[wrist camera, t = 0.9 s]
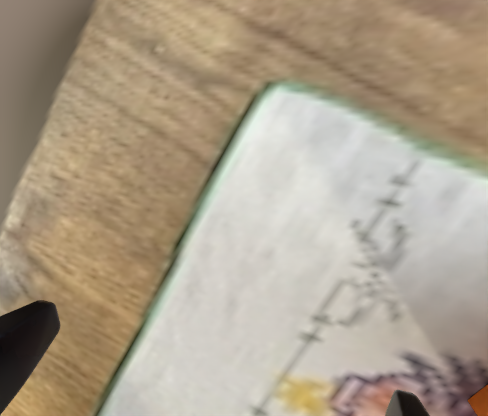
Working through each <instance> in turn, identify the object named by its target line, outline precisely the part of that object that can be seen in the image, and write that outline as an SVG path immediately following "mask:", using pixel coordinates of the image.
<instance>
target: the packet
mask: <svg viewBox="0 0 488 416" xmlns="http://www.w3.org/2000/svg"><path fill="white" fill-rule="evenodd" d="M468 402H469V404H470V405H471V407H472V408H473V410H474V411H475V413H476V414H477V416H488V384H487V385H486V386H485V387H484V388H482V389H481V390H480V391H479V392H477V393H476V394H475V395H474V396H472V397H471V398H470V399H469V400H468Z"/></svg>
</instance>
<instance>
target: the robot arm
mask: <svg viewBox="0 0 488 416" xmlns="http://www.w3.org/2000/svg"><path fill="white" fill-rule="evenodd" d="M59 329H60V321H59V317H58V313H57V309H56V306H55V304H54V303H52V302H48V301H44V300H39V301H36V302H33V303H31V304H28V305H26V306H24V307H21V308H19V309H17V310H14V311H12V312H10V313H7V314H5V315H2V316H0V415H1V413H2V412H3V411H4V410H5V408H6V407H7V406H8V405H9V403H10V402H11V401H12V399H13V398H14V397H15V396H16V394H17V393H18V392H19V390H20V389H21V388H22V386H23V385H24V384H25V382H26V381H27V379H28V378H29V376H30V375H31V373H32V372H33V370H34V369H35V367H36V366H37V364H38V363H39V361H40V360H41V358H42V357H43V355H44V354H45V352H46V350H47V349H48V347H49V346H50V344H51V343H52V341H53V340H54V338H55V337H56V335H57V334H58V332H59ZM385 416H430V415H429V414H428V412H427V411H426V409H425V408H424V406H423V405H422V403H421V402H420V400H419V399H418V397H417V396H416V395H414V394H413V393H410V392H406V391H402V390H396V391H394V393H393V395H392V398H391V400H390V403H389V405H388V408H387V410H386V414H385Z"/></svg>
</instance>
